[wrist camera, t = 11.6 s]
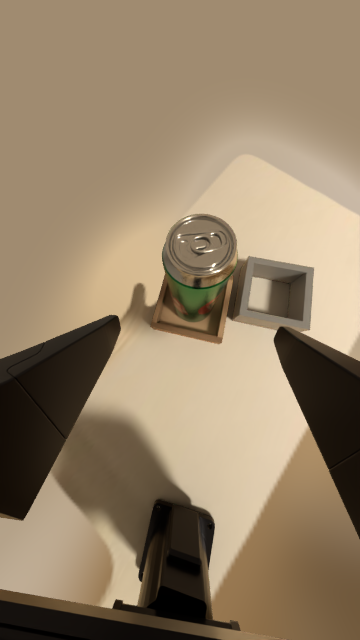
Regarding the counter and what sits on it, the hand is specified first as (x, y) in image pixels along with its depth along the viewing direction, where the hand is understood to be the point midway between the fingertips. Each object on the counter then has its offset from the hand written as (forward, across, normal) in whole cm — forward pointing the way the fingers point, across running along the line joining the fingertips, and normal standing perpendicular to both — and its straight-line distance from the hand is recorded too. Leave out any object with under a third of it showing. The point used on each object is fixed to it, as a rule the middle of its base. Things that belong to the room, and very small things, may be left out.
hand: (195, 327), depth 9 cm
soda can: (+12, 0, +5) cm, 13 cm away
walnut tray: (+12, 0, +5) cm, 13 cm away
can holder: (+13, -10, +4) cm, 17 cm away
